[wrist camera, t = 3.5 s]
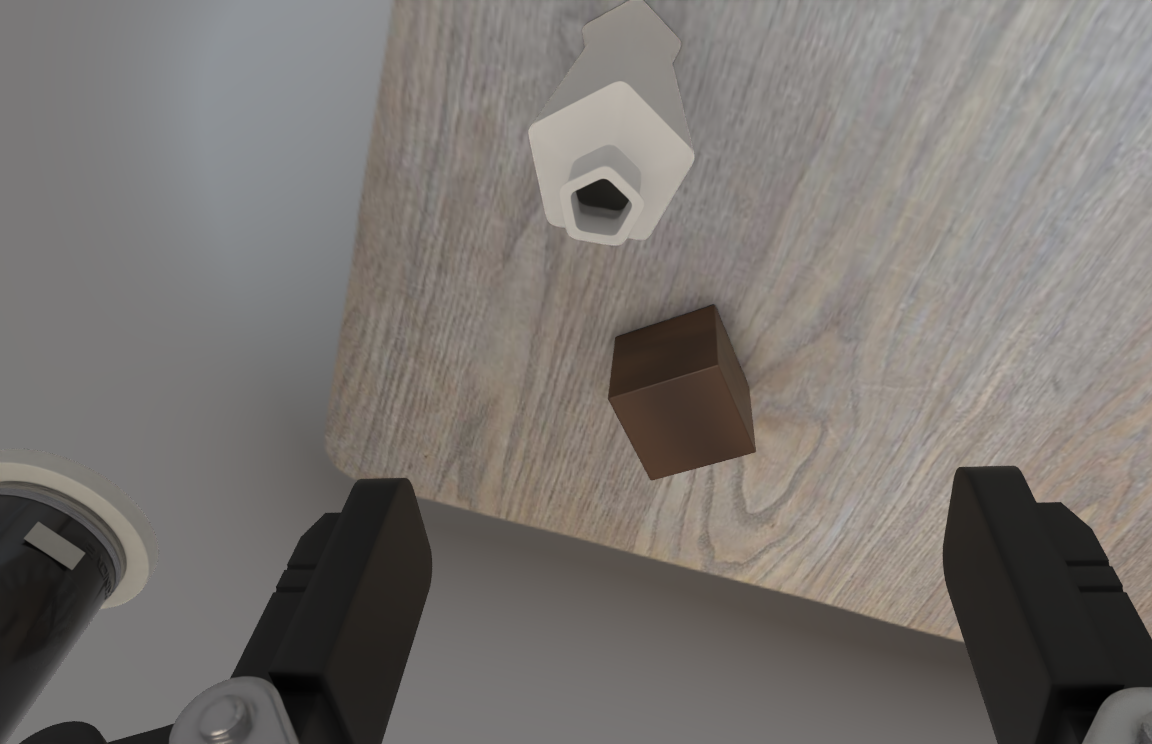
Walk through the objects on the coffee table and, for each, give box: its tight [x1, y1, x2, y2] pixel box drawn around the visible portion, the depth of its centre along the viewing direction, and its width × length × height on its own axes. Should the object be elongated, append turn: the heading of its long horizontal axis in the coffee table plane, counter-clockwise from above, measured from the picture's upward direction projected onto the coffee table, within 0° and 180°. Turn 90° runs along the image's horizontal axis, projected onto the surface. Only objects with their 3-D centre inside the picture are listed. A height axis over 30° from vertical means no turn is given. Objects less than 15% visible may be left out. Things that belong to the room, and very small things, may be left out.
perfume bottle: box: [528, 0, 695, 246], centre depth 28 cm, size 5×4×15 cm
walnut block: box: [608, 305, 756, 480], centre depth 40 cm, size 5×5×5 cm
